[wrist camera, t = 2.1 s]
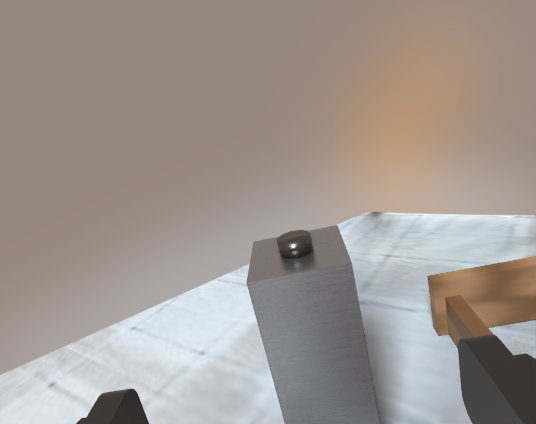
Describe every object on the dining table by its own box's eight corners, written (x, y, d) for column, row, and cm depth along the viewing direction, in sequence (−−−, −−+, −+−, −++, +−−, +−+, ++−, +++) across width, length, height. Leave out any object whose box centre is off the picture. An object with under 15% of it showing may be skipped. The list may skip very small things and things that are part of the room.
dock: (568, 304, 33) (568, 250, 31) (649, 367, 26) (654, 301, 24) (433, 327, 34) (427, 276, 32) (474, 393, 27) (469, 331, 25)
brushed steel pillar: (371, 412, 27) (334, 212, 23) (390, 481, 22) (348, 247, 18) (300, 422, 28) (250, 229, 23) (304, 493, 23) (242, 267, 18)
